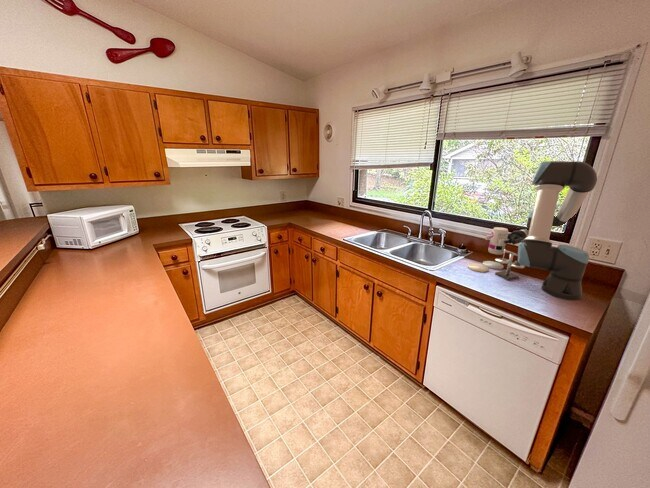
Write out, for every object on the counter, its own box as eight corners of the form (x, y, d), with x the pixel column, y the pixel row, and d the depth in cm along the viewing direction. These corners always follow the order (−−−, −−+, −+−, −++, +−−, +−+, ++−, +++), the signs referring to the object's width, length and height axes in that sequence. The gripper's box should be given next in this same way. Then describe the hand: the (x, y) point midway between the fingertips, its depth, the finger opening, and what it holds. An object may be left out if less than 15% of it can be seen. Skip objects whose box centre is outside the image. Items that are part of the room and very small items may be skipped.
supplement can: (486, 252, 162) (491, 228, 157) (489, 249, 168) (494, 226, 163) (501, 256, 157) (507, 231, 152) (505, 252, 162) (510, 228, 157)
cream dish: (492, 270, 158) (493, 269, 157) (478, 273, 154) (478, 271, 154) (477, 263, 168) (477, 262, 167) (463, 266, 164) (463, 264, 164)
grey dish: (507, 268, 161) (508, 266, 161) (493, 270, 158) (494, 269, 158) (491, 261, 171) (492, 260, 171) (478, 263, 168) (478, 262, 168)
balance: (525, 277, 149) (533, 248, 144) (500, 282, 144) (507, 252, 138) (512, 271, 157) (518, 244, 151) (487, 276, 151) (493, 247, 146)
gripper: (536, 247, 156) (507, 251, 150) (503, 237, 175) (476, 240, 169) (539, 235, 154) (510, 239, 147) (505, 226, 173) (478, 229, 166)
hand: (492, 240), depth 158 cm, fingers closed on supplement can, 8 cm apart
